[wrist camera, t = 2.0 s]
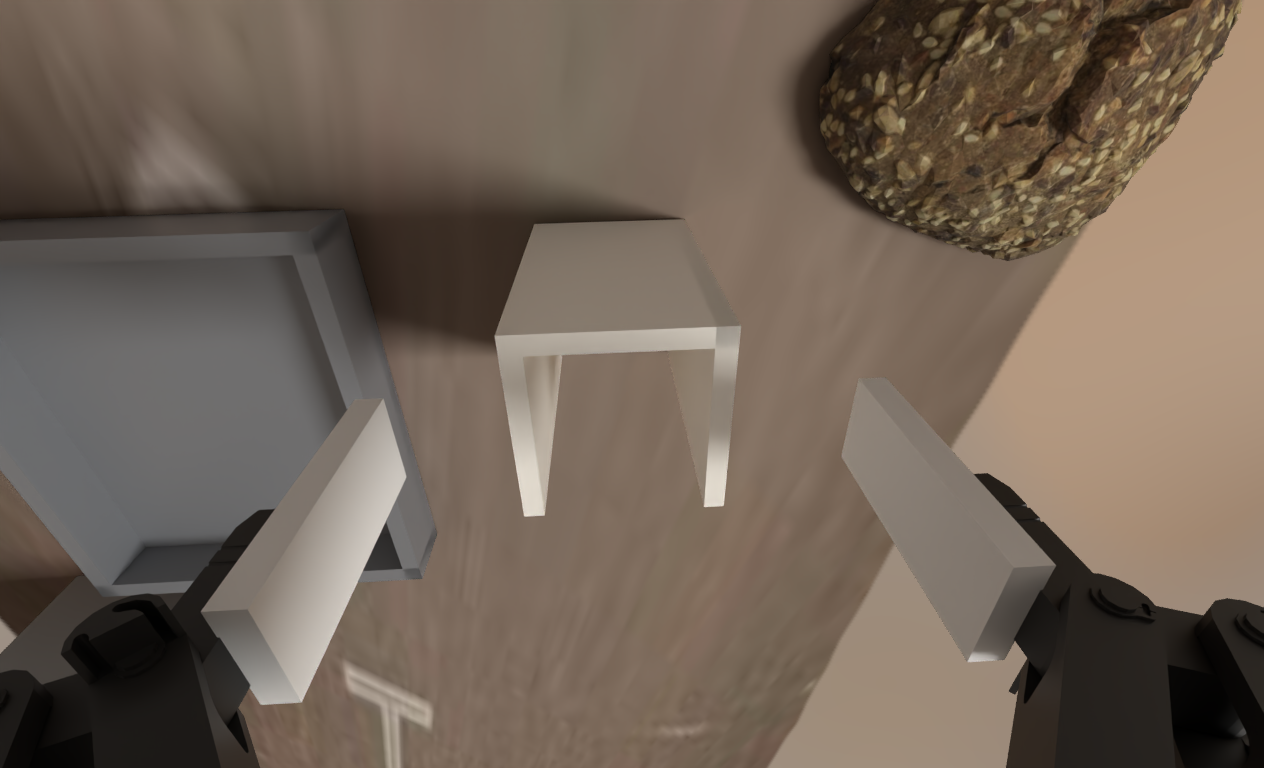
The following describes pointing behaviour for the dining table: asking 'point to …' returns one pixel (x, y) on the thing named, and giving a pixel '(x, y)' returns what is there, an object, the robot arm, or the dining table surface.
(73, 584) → the perfume bottle
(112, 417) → the tray
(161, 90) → the dining table surface
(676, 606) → the dining table surface
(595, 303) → the white u-shaped stool
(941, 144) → the bread roll
